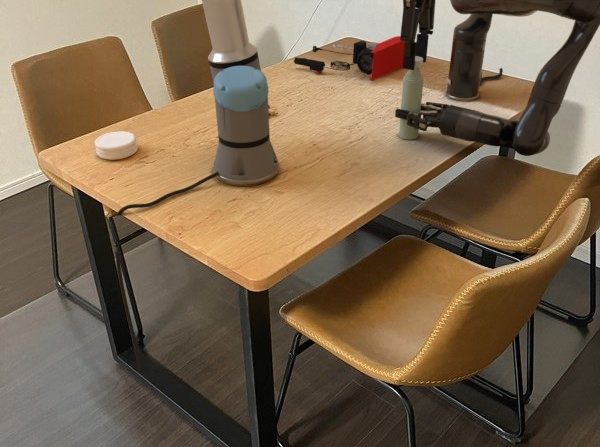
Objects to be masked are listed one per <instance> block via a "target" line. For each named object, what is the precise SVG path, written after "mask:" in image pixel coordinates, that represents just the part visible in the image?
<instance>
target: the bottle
mask: <svg viewBox="0 0 600 447" xmlns="http://www.w3.org/2000/svg"><path fill="white" fill-rule="evenodd" d="M420 69H421V67H420V68H414V70H409V69H407V72H406V73H405V74H404V76H403V79H402V89H401V102H400V109H402V110H407V111H410V112H419V111H421V104H422V100H423V89H424V77H423V74H422V73H421V70H420ZM416 117H418V116H416ZM398 128H399V129H398V137H399V138H400V139H403V140H409V141H410V140H415V139H417V138H418V137H419V131H420V130H419V129H416V128H414V127H411V126H409V125H407V120H404V119H400V118H399V127H398Z"/></svg>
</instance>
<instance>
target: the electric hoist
mask: <svg viewBox="0 0 600 447" xmlns="http://www.w3.org/2000/svg"><path fill="white" fill-rule="evenodd" d="M400 36H401V35H397V36H393V37H391V38H388V39H386V40H384V41H382V42H375V41H371V42H370V43H369V44H368V45H367V41H365V40H359V41H357V42H354V43H353V46H349V45H345V44H344V45H341V44H332V47H333V48H338V49H339V48H341V49H343V50H347V49H349V50H352V51H353V52H352V53H344V52H338V51H333V50H328V49H323V48H320V47H318V46H316V45H312V49H311V51H312V52H313V53H316V52H318V51H325V52H330V53H337V54H342V55H346V56H347V55H348V56H352V63H351V64H350V63H349V62H347V61H340V60H334V61H330V66H329V67H328V66H326V63H325V62H324V61H322V60H316V59H311V58H306V57H294V59H293V63H294V64H295V65H298V66H303V67H308V68H309V70H311V71H314V72H315V73H316V74H319V75H321V74H323V71H324V70H325V69H330V70H334V71H340V72H341V71H344V72H345V71H350V70H351V66H354V65H357V68H358V69H359V71H360V72H361V73H363V74H365V75H368V76H370V78H369V79H368V80H369V81H371V82H373V81H375V80H377V79H379V78H381V77H384V76H385V75H387V74H390V73H392V72H394V71H396V70H398V69H401V68H403V57H404V44H405V42H402V41H400Z"/></svg>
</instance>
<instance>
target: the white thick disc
mask: <svg viewBox="0 0 600 447" xmlns="http://www.w3.org/2000/svg"><path fill="white" fill-rule="evenodd" d="M94 146H95V152H96V155H97V156H98V157H100V158H101V159H104V160H110V161H111V160H114V161H115V160H116V161H117V160H122V159H126V158H128V157H130V156H133V155H134V154H135V153H136V152H137V151H138V147H139V146H138V141H137V137H136V135H135V134H133V133H132V132H129V131H124V130H123V131H121V130H119V131H110V132H107V133H103V134H102V135H99V136H98V137H97V138H96V139H95V140H94Z"/></svg>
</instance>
